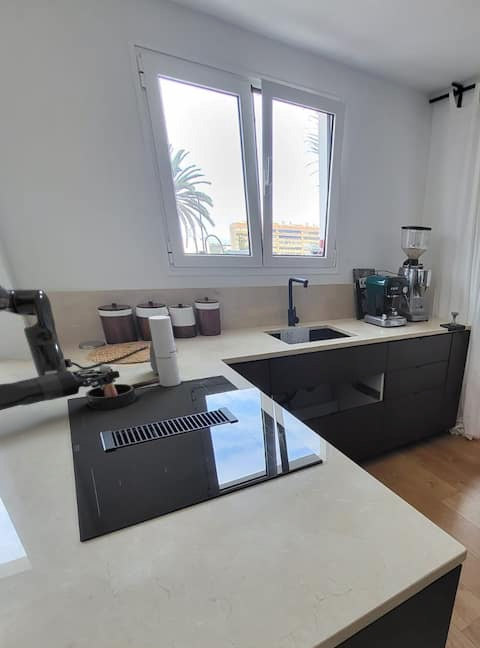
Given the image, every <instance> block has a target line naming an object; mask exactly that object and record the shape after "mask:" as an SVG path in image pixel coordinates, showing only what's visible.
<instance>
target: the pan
mask: <svg viewBox="0 0 480 648" xmlns="http://www.w3.org/2000/svg"><path fill="white" fill-rule="evenodd" d="M113 384H114V387H115V389H116V392H117V394H118V395H116V396H111V397H105V393H104V390H105V385H104V389H103V390H101V389H100V386H98V387H95V388H91V389H89V390H88V391H86V392H85V398H86V400H87V404H88V406H89V408H90V409H93V410H112V409H117V408H122V407H125V406H128V405H130V404H133V403H134V402H135V401H136V393H135V389H134V388H133V386H130V385H131V384H126V383H113ZM129 386H130V389H129Z"/></svg>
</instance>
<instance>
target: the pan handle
mask: <svg viewBox="0 0 480 648" xmlns="http://www.w3.org/2000/svg"><path fill="white" fill-rule="evenodd" d="M157 384H160V378H159V377H158V378H157V377H156V378H152V379H148V380H143V381H140V382H136V383H132V384H129V385H130V386H133V388H134V390H137V389H140V388H144V387H149V386H153V385H157ZM130 386H129V389H130Z"/></svg>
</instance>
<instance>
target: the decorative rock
mask: <svg viewBox="0 0 480 648" xmlns="http://www.w3.org/2000/svg"><path fill="white" fill-rule="evenodd" d="M149 361H150V367H151V370H152V371H153V373H155V375H156V376H159V373H158V368H157V362H156V357H155V352H154V346H153V341H152V340H151V341H150V345H149Z"/></svg>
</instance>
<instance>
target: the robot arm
mask: <svg viewBox="0 0 480 648" xmlns="http://www.w3.org/2000/svg"><path fill="white" fill-rule="evenodd" d="M0 312H1V313H2V312H7V313H9V314H13V315H16V316H20V317H21V316H22V317H36V322H34V323H33V324H30V325H27V326H25V327H24V328H23V332H24V335H25V339H26V342H27V344H28V345H27V346H28V348H29V351H30V354H31V357H32V361H33V364H34V367H35V370H36V373H37V377H32V378H28V379H23V380H18V381H15V382H10V383H1V384H0V411H3V410H7V409H11V408H15V407H18V406H29V405H32V404H38V403H41V402H47V401H54V400H58V399H61V398H66V397H70V396H73V395H77V394H79V393H80V388H90V387H91V389H93V388H96V387H100V386H101V385H103V384H106V383H109V381H108V380H110V379H118V378H120V375H121V374H120V372H119V371H118V370H113V368H110V370H111V372H108V373H102V372H101V371H100V370H99V369H93V368H97V367H100V366H101V365H103V364H109V363H113V362H117V361H120V360H122V359H124V358H126V357H129V356H131V355H133V354H135V353H137V352H140V351H142V350H145V349H149V346H148V345H146V346H147V347H146V346H143V347H144V348H143V347H140V348H141V349H140V348H138V349H139V350H137V349H135V350H136V351H135V350H133V351H134V352H133V351H131V352H132V353H131V352H129V353H130V354H128V353H126V354H127V355H126V354H124V355H125V356H124V355H122V356H123V357H121V356H119V357H120V358H119V357H116V358H117V359H116V358H113V359H114V360H112V359H110V360H111V361H109V360H106V361H107V362H105V361H102V362H99V363H95V364H93V365H90V366H81V365H80V364H78V363H77V362H73V361H72V360H71V358H65V357H64V353H63V351H62V348H61V344H60V341H59V337H58V334H57V330H56V321H55V318H54V313H53V307H52V304H51V300H50V298H49V295H48V294H47V293H46V292H45V291H44V290H43V289H38V288H37V289H36V288H35V289H33V288H31V289H30V288H29V289H28V288H27V289H23V288H22V289H21V288H20V289H18V288H17V289H6V288H5V286H3V285H1V284H0ZM73 366H76V367H77V368H79V369H81V370H79V371H73V372H72V371H71V370H68V369H69V368H72V367H73ZM102 378H103V380H102Z"/></svg>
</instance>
